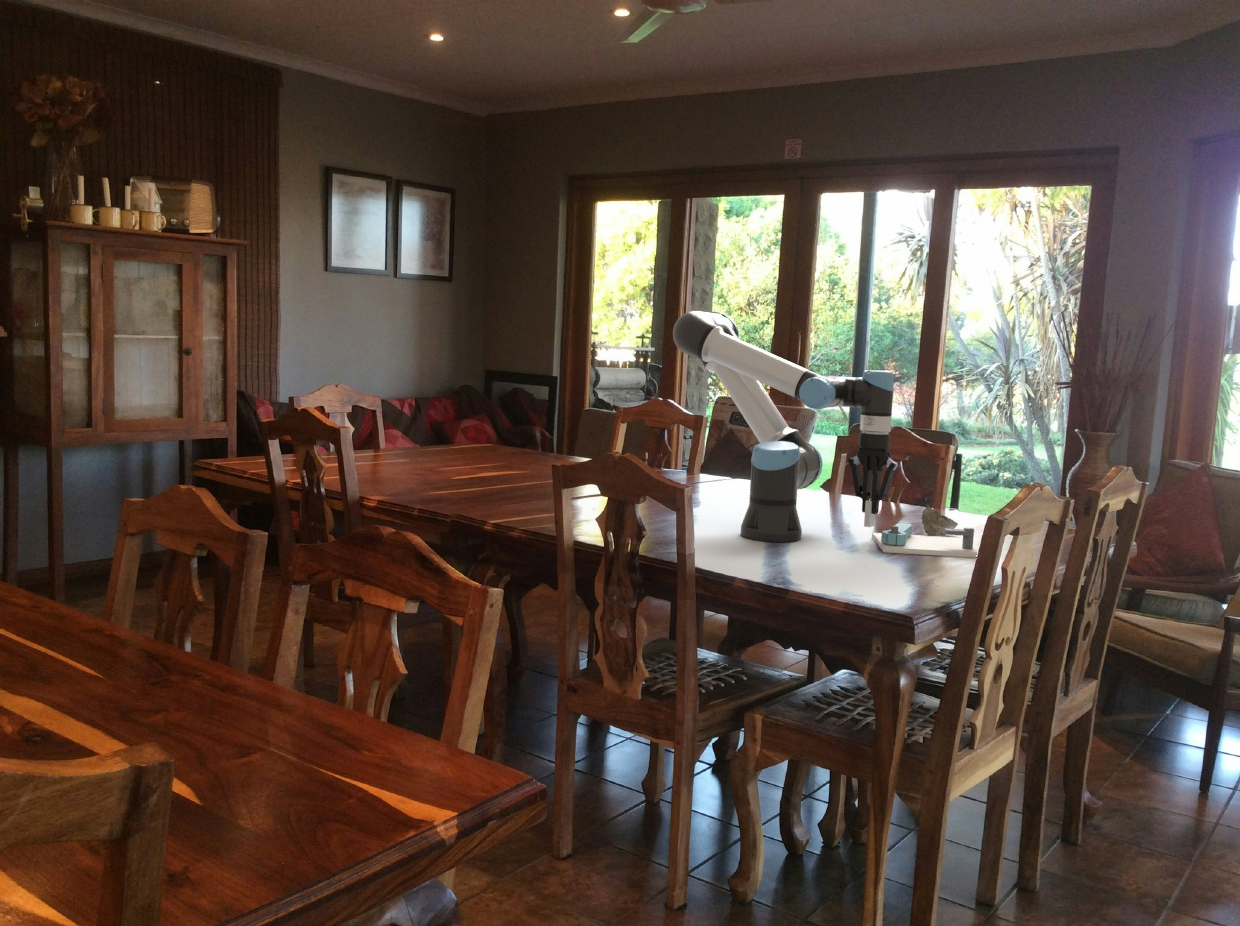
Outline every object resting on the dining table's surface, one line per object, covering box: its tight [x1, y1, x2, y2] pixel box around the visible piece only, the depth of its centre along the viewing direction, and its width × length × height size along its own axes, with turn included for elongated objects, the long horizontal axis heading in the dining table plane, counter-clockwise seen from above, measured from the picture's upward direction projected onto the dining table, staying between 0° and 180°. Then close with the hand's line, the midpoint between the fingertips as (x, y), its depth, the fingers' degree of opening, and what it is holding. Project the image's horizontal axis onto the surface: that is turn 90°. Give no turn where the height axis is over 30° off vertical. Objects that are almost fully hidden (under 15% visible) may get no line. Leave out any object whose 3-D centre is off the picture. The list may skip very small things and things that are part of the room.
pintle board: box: [871, 525, 979, 559], centre depth 262 cm, size 22×19×6 cm
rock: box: [920, 504, 959, 537], centre depth 279 cm, size 11×6×10 cm
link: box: [881, 522, 913, 545], centre depth 264 cm, size 18×6×2 cm, turn 155°
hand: (869, 526), depth 269 cm, fingers closed
